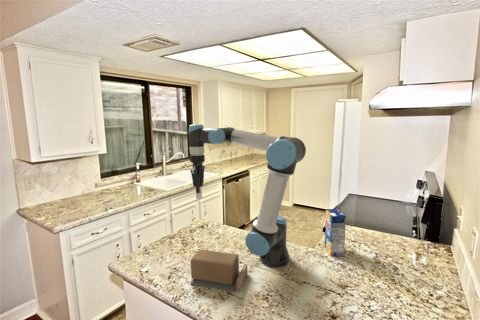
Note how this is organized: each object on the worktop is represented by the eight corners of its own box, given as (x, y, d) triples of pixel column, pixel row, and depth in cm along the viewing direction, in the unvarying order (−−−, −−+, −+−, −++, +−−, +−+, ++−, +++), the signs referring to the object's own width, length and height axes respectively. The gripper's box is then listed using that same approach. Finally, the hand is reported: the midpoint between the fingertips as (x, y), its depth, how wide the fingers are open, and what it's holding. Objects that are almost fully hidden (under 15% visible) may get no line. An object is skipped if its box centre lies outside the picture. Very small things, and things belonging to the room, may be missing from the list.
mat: (245, 273, 123) (245, 272, 123) (236, 292, 110) (236, 290, 110) (203, 267, 129) (203, 266, 129) (190, 284, 116) (190, 283, 116)
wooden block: (190, 279, 118) (233, 286, 113) (189, 259, 117) (232, 265, 111) (200, 267, 128) (239, 273, 122) (199, 248, 126) (239, 253, 121)
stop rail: (247, 273, 123) (247, 263, 122) (239, 292, 110) (238, 281, 109) (244, 273, 123) (244, 263, 122) (236, 292, 110) (236, 281, 109)
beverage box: (330, 256, 137) (332, 216, 134) (324, 246, 148) (325, 209, 145) (344, 256, 137) (345, 216, 133) (336, 246, 148) (338, 208, 144)
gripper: (196, 152, 143) (197, 194, 147) (184, 156, 131) (187, 201, 134) (208, 153, 141) (210, 195, 145) (198, 156, 129) (200, 202, 132)
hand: (199, 198), depth 140 cm, fingers closed
